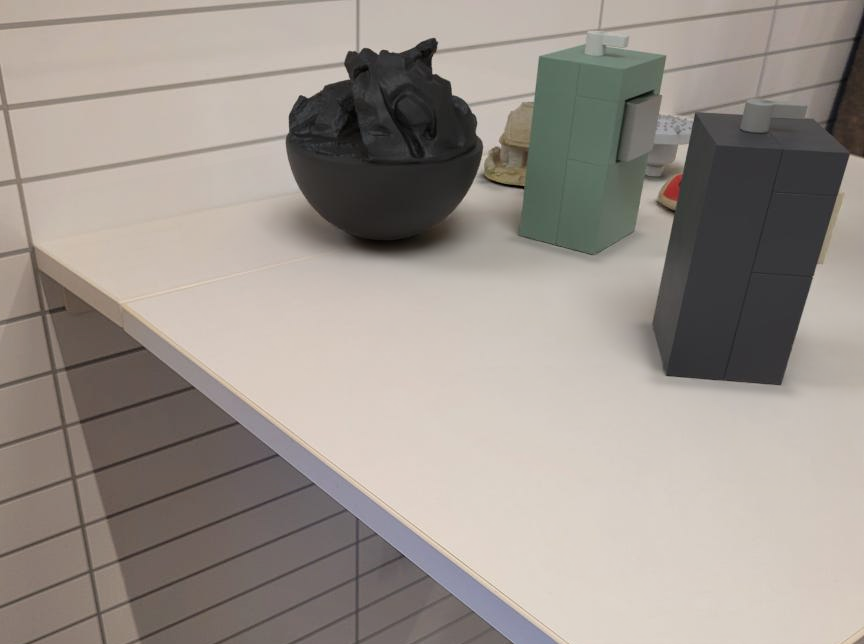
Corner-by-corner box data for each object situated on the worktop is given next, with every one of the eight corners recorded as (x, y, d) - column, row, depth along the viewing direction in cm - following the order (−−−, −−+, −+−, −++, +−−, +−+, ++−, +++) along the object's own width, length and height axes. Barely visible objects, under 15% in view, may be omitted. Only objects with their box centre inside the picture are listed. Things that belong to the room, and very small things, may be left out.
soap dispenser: (634, 230, 104) (670, 33, 93) (594, 255, 97) (627, 45, 86) (562, 213, 109) (588, 22, 97) (518, 235, 102) (541, 33, 91)
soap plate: (652, 150, 97) (662, 94, 94) (627, 162, 93) (637, 104, 90) (640, 147, 98) (649, 92, 95) (614, 159, 94) (623, 102, 91)
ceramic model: (596, 173, 122) (609, 92, 117) (593, 199, 113) (606, 112, 108) (489, 163, 125) (496, 83, 119) (477, 188, 116) (484, 102, 110)
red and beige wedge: (680, 194, 116) (686, 165, 114) (746, 217, 109) (754, 186, 107) (642, 203, 112) (648, 173, 110) (709, 227, 106) (716, 195, 104)
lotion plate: (803, 237, 76) (823, 169, 73) (823, 264, 71) (844, 193, 68) (786, 236, 76) (804, 168, 73) (804, 263, 71) (824, 191, 68)
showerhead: (645, 127, 114) (614, 107, 122) (634, 187, 118) (605, 164, 126) (717, 126, 115) (682, 107, 123) (704, 185, 119) (671, 163, 127)
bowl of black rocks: (328, 281, 90) (328, 69, 79) (263, 216, 105) (255, 31, 94) (510, 255, 97) (531, 58, 86) (424, 198, 112) (433, 24, 101)
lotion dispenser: (755, 331, 83) (821, 91, 72) (781, 385, 75) (859, 122, 63) (651, 324, 84) (700, 84, 72) (666, 375, 75) (723, 114, 64)
